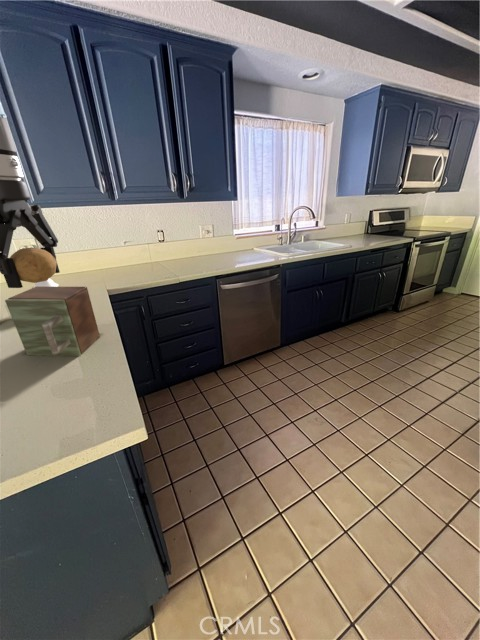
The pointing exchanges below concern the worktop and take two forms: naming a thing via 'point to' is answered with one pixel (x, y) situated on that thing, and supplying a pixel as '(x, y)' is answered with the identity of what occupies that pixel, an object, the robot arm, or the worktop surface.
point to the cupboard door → (44, 326)
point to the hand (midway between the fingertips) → (36, 279)
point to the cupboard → (71, 310)
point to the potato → (34, 264)
